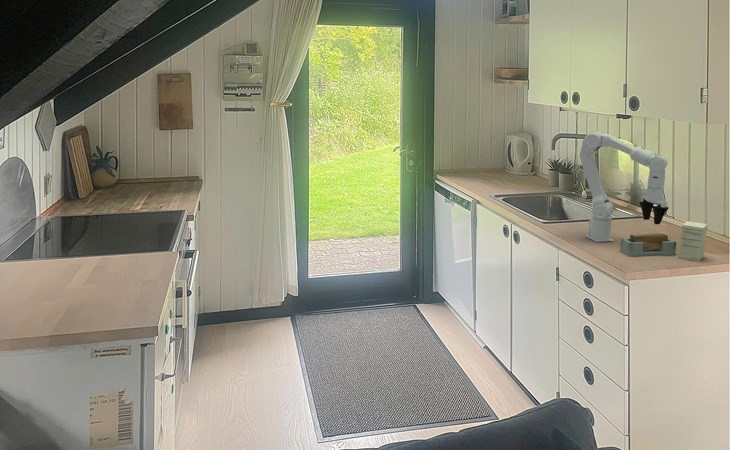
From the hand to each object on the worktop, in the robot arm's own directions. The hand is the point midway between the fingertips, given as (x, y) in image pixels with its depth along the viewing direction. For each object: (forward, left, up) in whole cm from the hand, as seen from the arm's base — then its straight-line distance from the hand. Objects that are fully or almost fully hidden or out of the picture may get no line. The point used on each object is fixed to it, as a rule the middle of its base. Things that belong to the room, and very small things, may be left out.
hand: (651, 221), depth 239 cm
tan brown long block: (+9, -6, -8) cm, 13 cm away
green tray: (+9, -6, -10) cm, 15 cm away
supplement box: (+16, +7, -10) cm, 20 cm away
